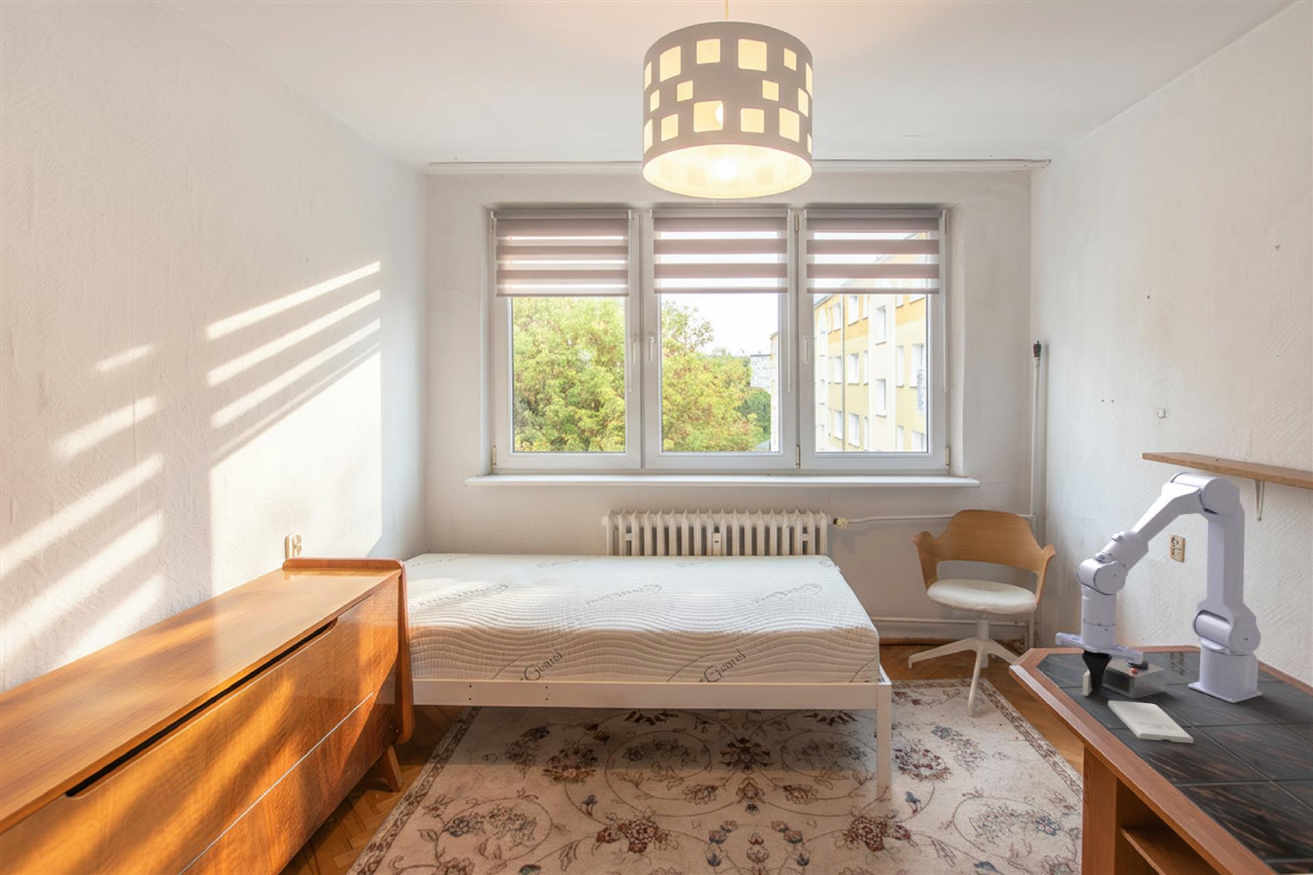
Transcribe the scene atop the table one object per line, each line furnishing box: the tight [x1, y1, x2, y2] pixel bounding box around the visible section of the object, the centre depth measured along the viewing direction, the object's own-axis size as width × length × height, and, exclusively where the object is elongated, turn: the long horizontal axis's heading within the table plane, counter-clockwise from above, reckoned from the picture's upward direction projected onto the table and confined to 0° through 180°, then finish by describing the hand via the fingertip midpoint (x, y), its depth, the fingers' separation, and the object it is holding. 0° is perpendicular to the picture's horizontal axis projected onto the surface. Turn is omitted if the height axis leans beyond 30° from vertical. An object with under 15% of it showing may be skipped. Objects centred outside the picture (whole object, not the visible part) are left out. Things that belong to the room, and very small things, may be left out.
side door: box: [1082, 668, 1094, 697], centre depth 135 cm, size 1×8×4 cm, turn 134°
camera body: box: [1102, 658, 1167, 700], centre depth 136 cm, size 9×7×6 cm
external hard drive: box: [1107, 700, 1194, 744], centre depth 122 cm, size 2×8×12 cm
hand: (1096, 688), depth 134 cm, fingers closed
